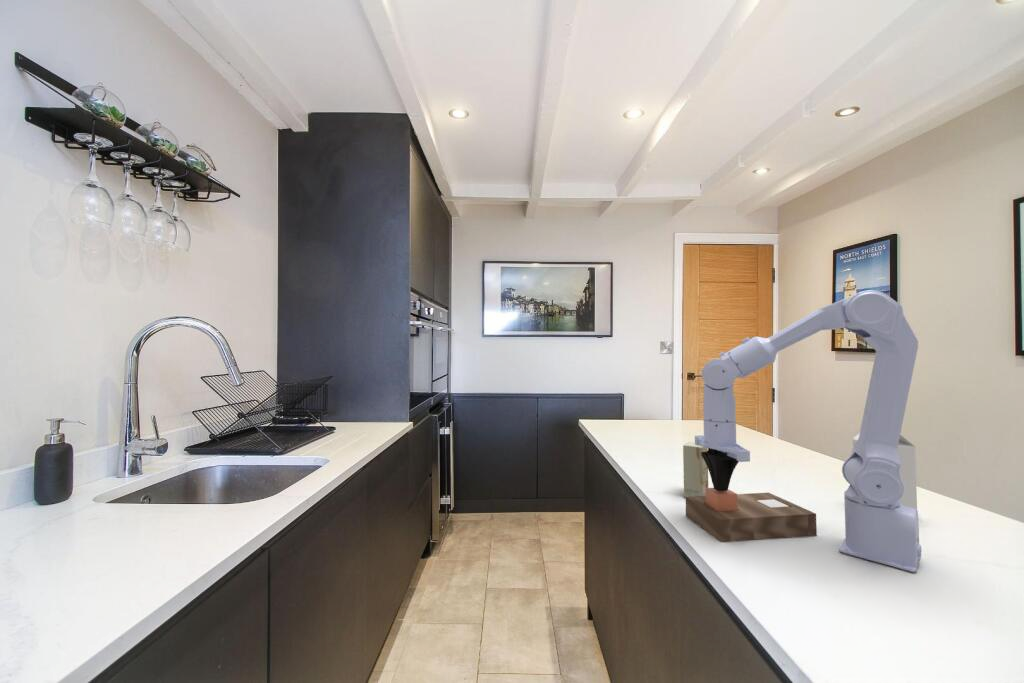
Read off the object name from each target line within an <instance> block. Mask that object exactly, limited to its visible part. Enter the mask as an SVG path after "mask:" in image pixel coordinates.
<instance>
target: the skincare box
mask: <svg viewBox="0 0 1024 683" xmlns="http://www.w3.org/2000/svg"><path fill="white" fill-rule="evenodd" d="M707 450H708V448H704V447H701V446H698V445H695V441H688V442H686V443H685V444H683V447H682V454H683V457H682V460H683V497H684V498H686V497H694V496H706V492H705V488H709V469H708V467H707V465H706V463H705V461H704V459H703V457H702V456H701V452H707Z"/></svg>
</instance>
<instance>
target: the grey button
mask: <svg viewBox="0 0 1024 683" xmlns="http://www.w3.org/2000/svg"><path fill="white" fill-rule="evenodd" d="M756 501H757V502H759V503H761V504H763V505H765V506H767V507H769V508H784V507H789V506H787V505H785V504H783V503H781V502H779V501H777V500H774V499H771V500H756Z"/></svg>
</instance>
